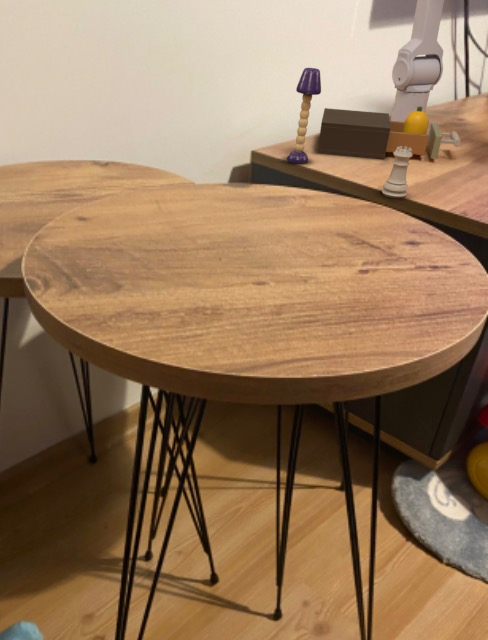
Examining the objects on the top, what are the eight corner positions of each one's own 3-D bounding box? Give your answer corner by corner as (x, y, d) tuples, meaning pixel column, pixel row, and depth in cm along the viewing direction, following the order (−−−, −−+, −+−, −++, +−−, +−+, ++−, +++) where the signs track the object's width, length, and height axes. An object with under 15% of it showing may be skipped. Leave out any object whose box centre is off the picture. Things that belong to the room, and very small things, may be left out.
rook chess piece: (377, 190, 118) (387, 144, 113) (401, 190, 118) (412, 144, 113) (385, 199, 114) (396, 152, 109) (410, 199, 114) (421, 152, 110)
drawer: (452, 145, 140) (458, 124, 137) (458, 160, 131) (464, 138, 128) (372, 138, 143) (377, 117, 140) (373, 153, 134) (377, 130, 131)
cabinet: (382, 143, 143) (388, 113, 140) (384, 159, 133) (390, 128, 130) (320, 137, 145) (324, 108, 142) (317, 153, 135) (321, 122, 132)
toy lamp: (297, 155, 133) (308, 65, 123) (315, 161, 131) (329, 69, 121) (282, 160, 131) (293, 68, 121) (300, 165, 128) (313, 72, 118)
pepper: (399, 141, 137) (407, 103, 133) (421, 143, 137) (430, 105, 132) (400, 147, 134) (408, 108, 129) (423, 149, 133) (432, 110, 129)
